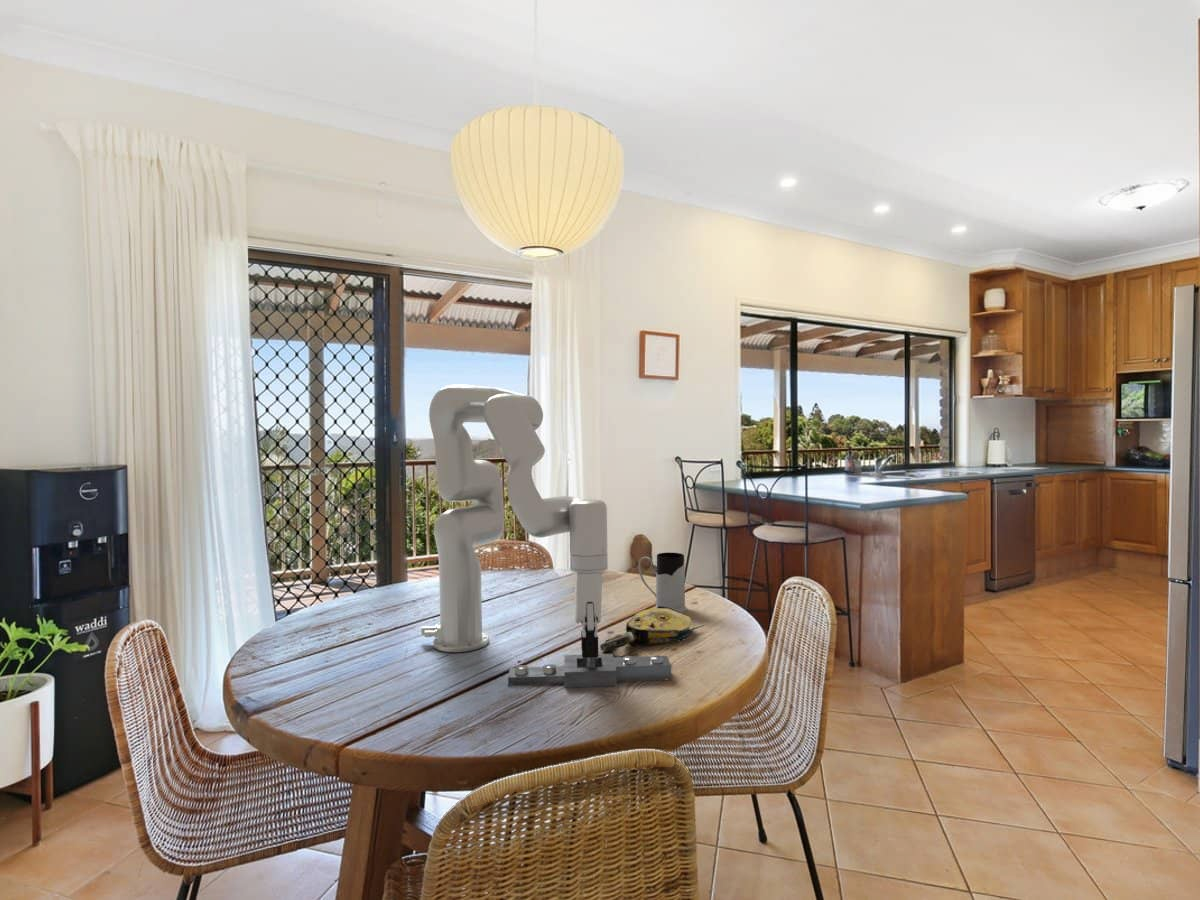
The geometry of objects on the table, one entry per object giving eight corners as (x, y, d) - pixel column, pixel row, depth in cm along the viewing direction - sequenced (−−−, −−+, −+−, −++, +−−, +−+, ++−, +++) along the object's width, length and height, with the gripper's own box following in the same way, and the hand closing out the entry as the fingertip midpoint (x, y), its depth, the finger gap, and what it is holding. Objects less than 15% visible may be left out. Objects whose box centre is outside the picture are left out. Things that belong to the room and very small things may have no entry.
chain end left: (506, 689, 117) (506, 677, 117) (511, 671, 126) (510, 659, 126) (616, 686, 118) (616, 673, 118) (612, 668, 127) (612, 656, 127)
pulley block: (582, 621, 138) (664, 595, 160) (579, 645, 139) (662, 616, 161) (628, 645, 129) (709, 615, 150) (624, 671, 130) (706, 637, 151)
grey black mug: (678, 615, 163) (678, 559, 163) (631, 607, 171) (631, 554, 170) (691, 607, 171) (691, 553, 170) (646, 600, 178) (645, 549, 178)
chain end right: (564, 687, 118) (564, 669, 118) (564, 669, 127) (564, 652, 127) (672, 684, 119) (672, 665, 119) (665, 666, 128) (665, 649, 128)
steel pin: (580, 670, 120) (579, 618, 120) (580, 662, 124) (579, 612, 124) (600, 669, 120) (600, 618, 120) (599, 662, 124) (599, 612, 124)
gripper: (569, 554, 130) (570, 640, 130) (570, 571, 113) (571, 669, 114) (604, 553, 130) (605, 639, 131) (610, 570, 114) (611, 668, 114)
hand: (589, 652), depth 122 cm, fingers closed on steel pin, 3 cm apart
